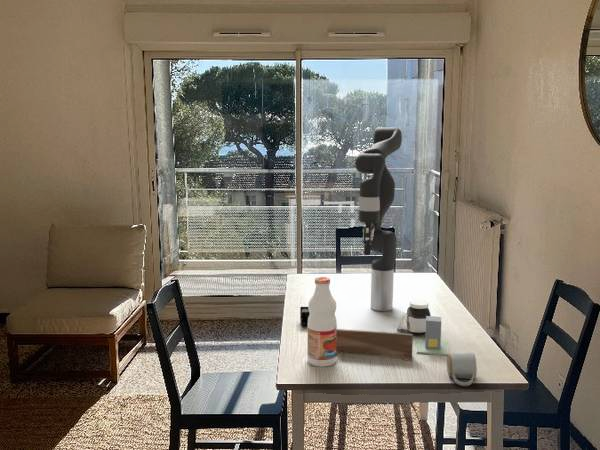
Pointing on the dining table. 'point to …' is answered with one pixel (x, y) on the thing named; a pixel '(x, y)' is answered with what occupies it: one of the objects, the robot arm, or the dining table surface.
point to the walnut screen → (374, 343)
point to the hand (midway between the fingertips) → (368, 252)
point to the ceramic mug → (462, 367)
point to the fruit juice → (322, 325)
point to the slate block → (433, 332)
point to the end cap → (304, 316)
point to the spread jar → (416, 317)
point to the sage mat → (442, 351)
